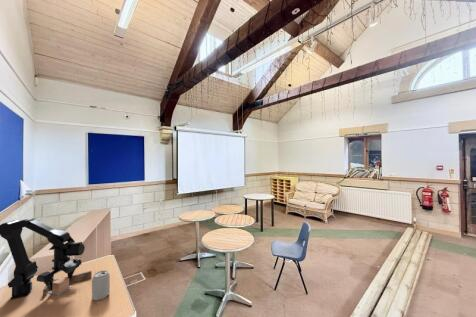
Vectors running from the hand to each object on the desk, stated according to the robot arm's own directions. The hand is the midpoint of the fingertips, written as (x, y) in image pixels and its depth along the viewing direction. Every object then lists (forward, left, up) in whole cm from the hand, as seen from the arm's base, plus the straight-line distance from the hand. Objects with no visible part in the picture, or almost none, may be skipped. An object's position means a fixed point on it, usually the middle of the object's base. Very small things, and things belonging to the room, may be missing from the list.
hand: (60, 285), depth 108 cm
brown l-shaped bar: (+4, +3, -2) cm, 5 cm away
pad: (0, 0, -2) cm, 2 cm away
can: (+19, -19, -3) cm, 27 cm away
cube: (0, 0, -2) cm, 2 cm away
